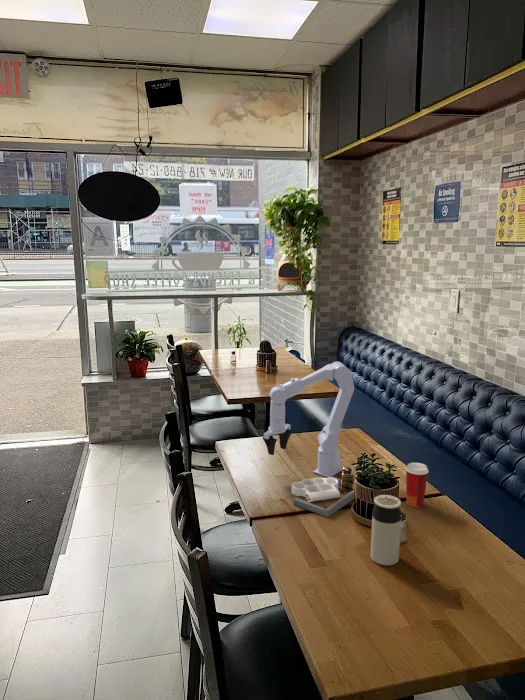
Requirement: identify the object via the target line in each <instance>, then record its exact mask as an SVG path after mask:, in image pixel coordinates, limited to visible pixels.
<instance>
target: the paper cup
mask: <svg viewBox="0 0 525 700" xmlns="http://www.w3.org/2000/svg"><path fill="white" fill-rule="evenodd" d="M404 470H405V471H406V472H405V473H406V480H405V481H406V482H405V483H406V487H405V488H406V504H407V506H409V507H410V508H415V509H420V508H422V507H423V506H424V503H425V502H424V501H425V495H426V489H427V488H426V487H427V479H428V473H429V469H428V466H427V465H426V464H424V463H420V462H410V463H408V464H407V465H406V466H405V468H404Z"/></svg>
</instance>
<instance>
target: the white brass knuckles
mask: <svg viewBox="0 0 525 700" xmlns="http://www.w3.org/2000/svg"><path fill="white" fill-rule="evenodd" d="M291 494H292V495H293V494H294V495H293V496H295V495H296V496H295V497H299V496H303V498H305V497H306V498H305V500H306V499H310V500H309V501H307V502H308V503H311V502H319V501H325V500H331V499H333V500H334V499H340V498H341V493H340V491H339V485H338V480H337V479H335V478H331V477H313V478H303V479H302V480H300V481H295V482H292V484H291Z"/></svg>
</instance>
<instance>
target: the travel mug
mask: <svg viewBox="0 0 525 700" xmlns="http://www.w3.org/2000/svg"><path fill="white" fill-rule="evenodd" d="M373 502H374V507H372V514H371V515H372V517H371V518H372V519H371V536H370V537H371V539H370V556H369V557H370V559H371V560H372V561H373V562H374V563H376V564H378V565H381V566H393V565H396V564H397V563H398V562H399V559H400V543H401V529H402V527H401V526H402V511H401V509H400V508H401V505H402V501H401V499H399V498H398V497H396V496H395V495H394V496H393V495H389V494H380V495H376V496H375V497H374V499H373Z"/></svg>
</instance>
